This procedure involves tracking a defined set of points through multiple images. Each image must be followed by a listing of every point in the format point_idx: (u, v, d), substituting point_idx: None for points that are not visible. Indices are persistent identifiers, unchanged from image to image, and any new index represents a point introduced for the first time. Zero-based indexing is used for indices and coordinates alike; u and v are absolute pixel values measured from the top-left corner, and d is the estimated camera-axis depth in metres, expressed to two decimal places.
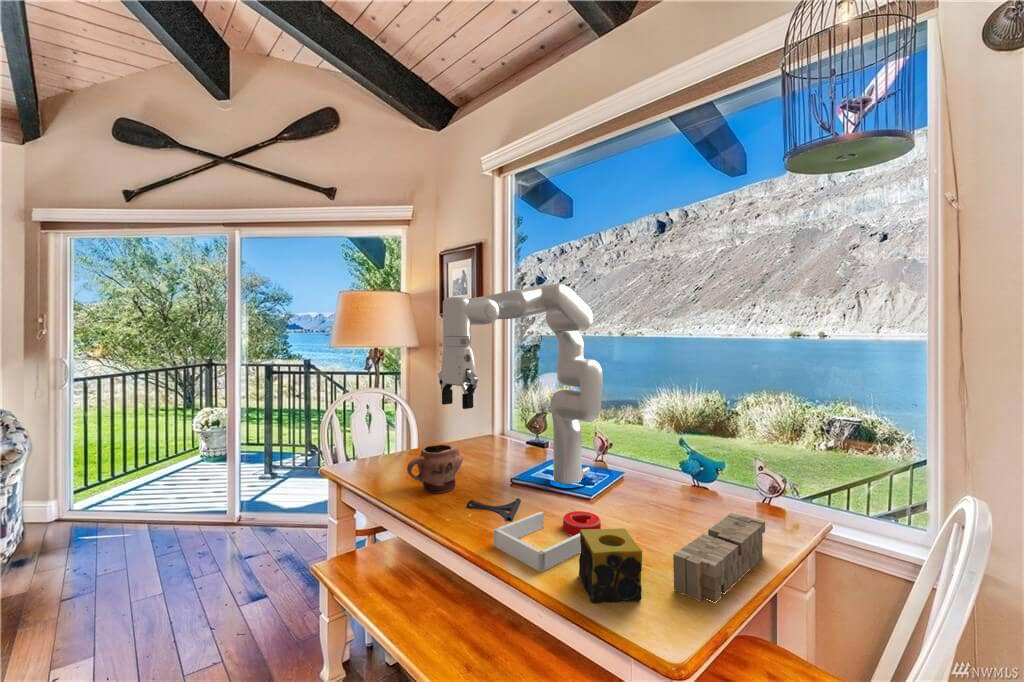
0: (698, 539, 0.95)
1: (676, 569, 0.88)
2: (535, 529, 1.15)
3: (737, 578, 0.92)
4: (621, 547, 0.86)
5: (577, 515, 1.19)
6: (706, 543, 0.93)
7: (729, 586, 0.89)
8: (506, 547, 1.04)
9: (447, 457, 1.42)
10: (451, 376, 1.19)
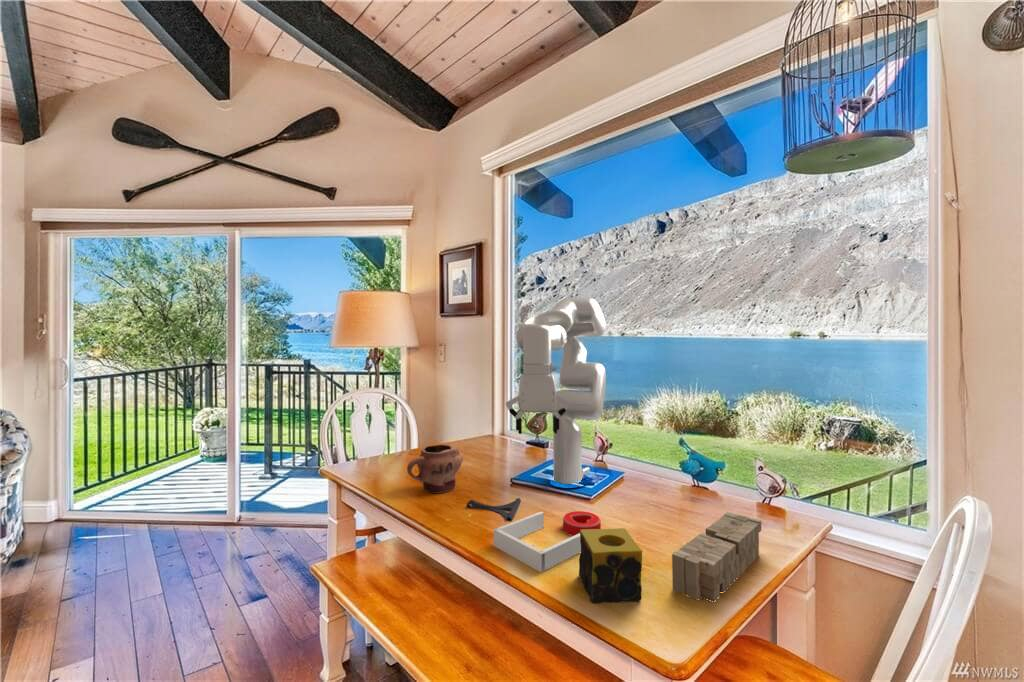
0: (696, 538, 0.95)
1: (674, 568, 0.88)
2: (535, 529, 1.15)
3: (735, 577, 0.92)
4: (621, 547, 0.86)
5: (576, 515, 1.19)
6: (704, 542, 0.93)
7: (727, 585, 0.89)
8: (506, 547, 1.04)
9: (447, 457, 1.42)
10: (541, 403, 1.20)
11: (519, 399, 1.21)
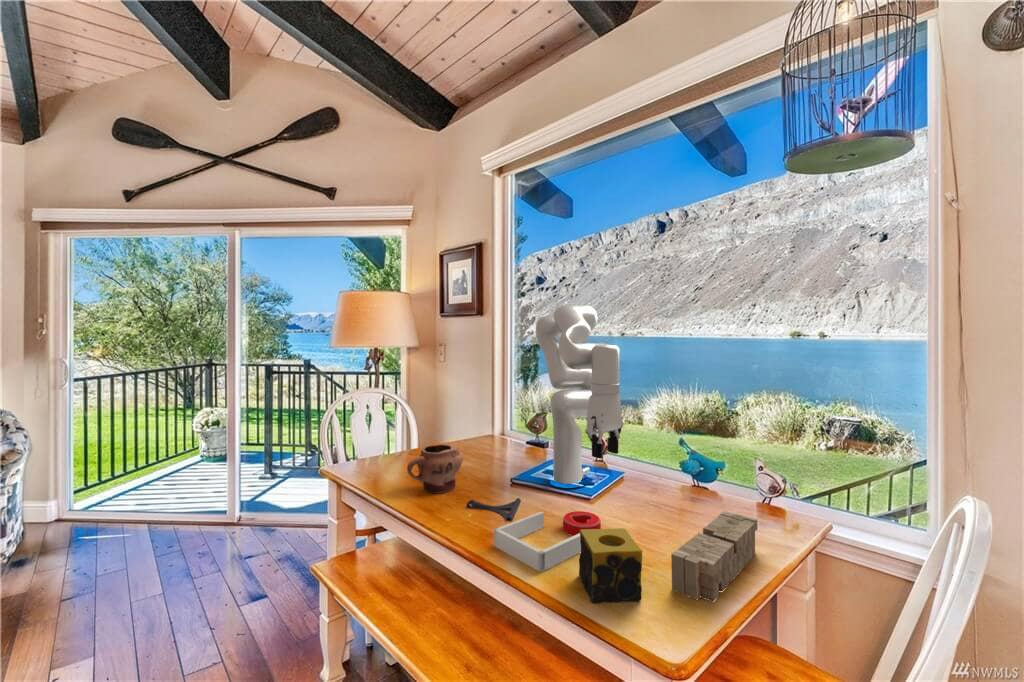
0: (694, 538, 0.95)
1: (674, 568, 0.88)
2: (535, 529, 1.15)
3: (733, 576, 0.93)
4: (621, 547, 0.86)
5: (577, 515, 1.19)
6: (702, 542, 0.94)
7: (726, 584, 0.89)
8: (506, 547, 1.04)
9: (447, 457, 1.42)
10: (613, 422, 1.22)
11: (597, 421, 1.19)
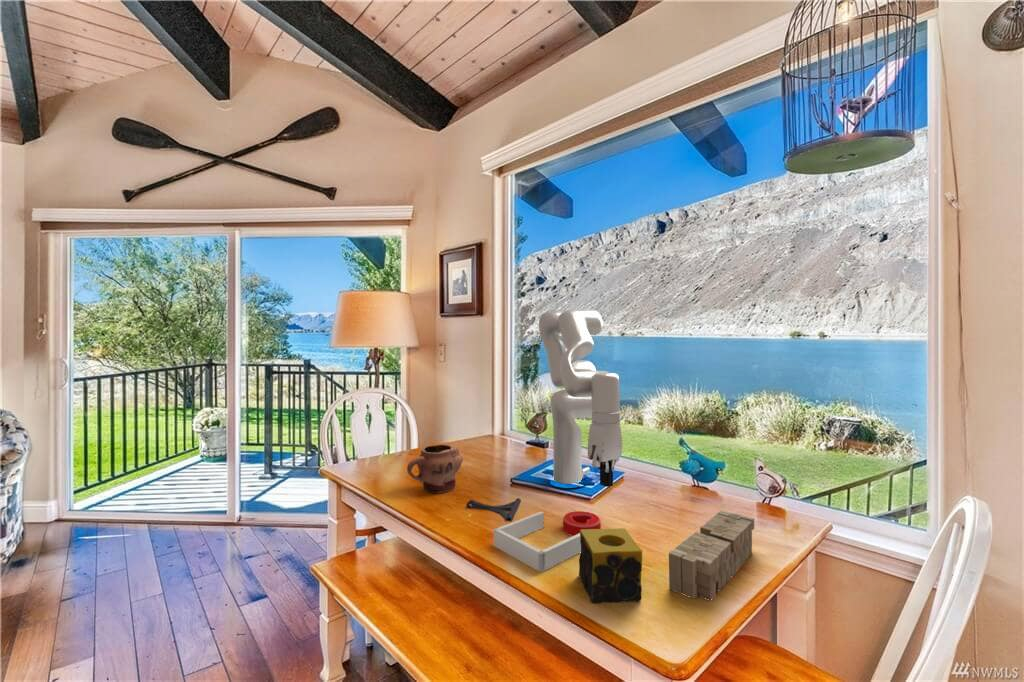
0: (691, 537, 0.96)
1: (671, 567, 0.89)
2: (535, 529, 1.15)
3: (730, 575, 0.93)
4: (621, 547, 0.86)
5: (576, 515, 1.19)
6: (700, 541, 0.94)
7: (723, 583, 0.90)
8: (506, 547, 1.04)
9: (447, 457, 1.42)
10: (614, 451, 1.21)
11: (598, 450, 1.18)
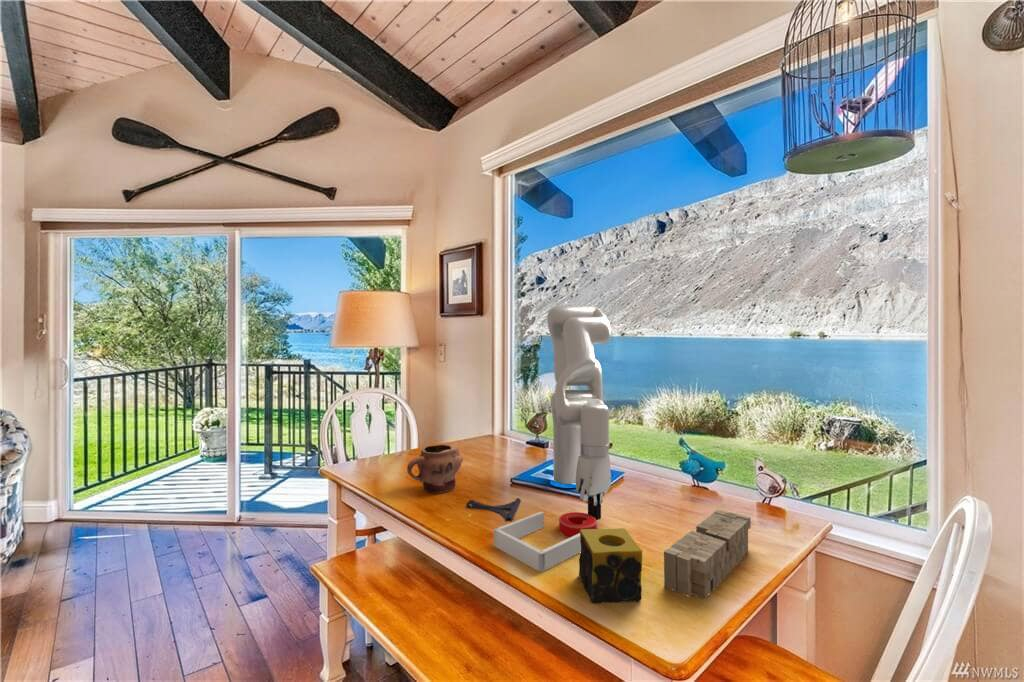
0: (687, 536, 0.97)
1: (666, 565, 0.90)
2: (535, 529, 1.15)
3: (725, 573, 0.94)
4: (621, 547, 0.86)
5: (573, 516, 1.18)
6: (695, 540, 0.95)
7: (718, 581, 0.91)
8: (506, 547, 1.04)
9: (447, 457, 1.42)
10: (603, 484, 1.19)
11: (586, 484, 1.16)
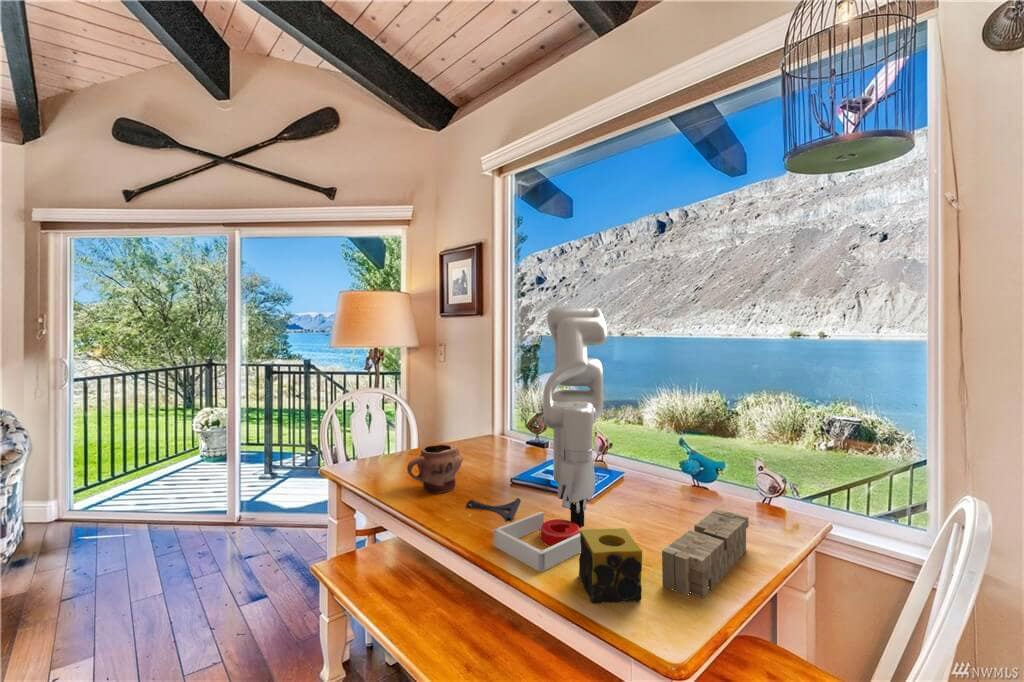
0: (685, 535, 0.97)
1: (664, 565, 0.90)
2: (535, 529, 1.15)
3: (723, 572, 0.94)
4: (621, 547, 0.86)
5: (555, 523, 1.13)
6: (693, 539, 0.95)
7: (716, 580, 0.91)
8: (506, 547, 1.04)
9: (447, 457, 1.42)
10: (586, 490, 1.14)
11: (568, 490, 1.11)
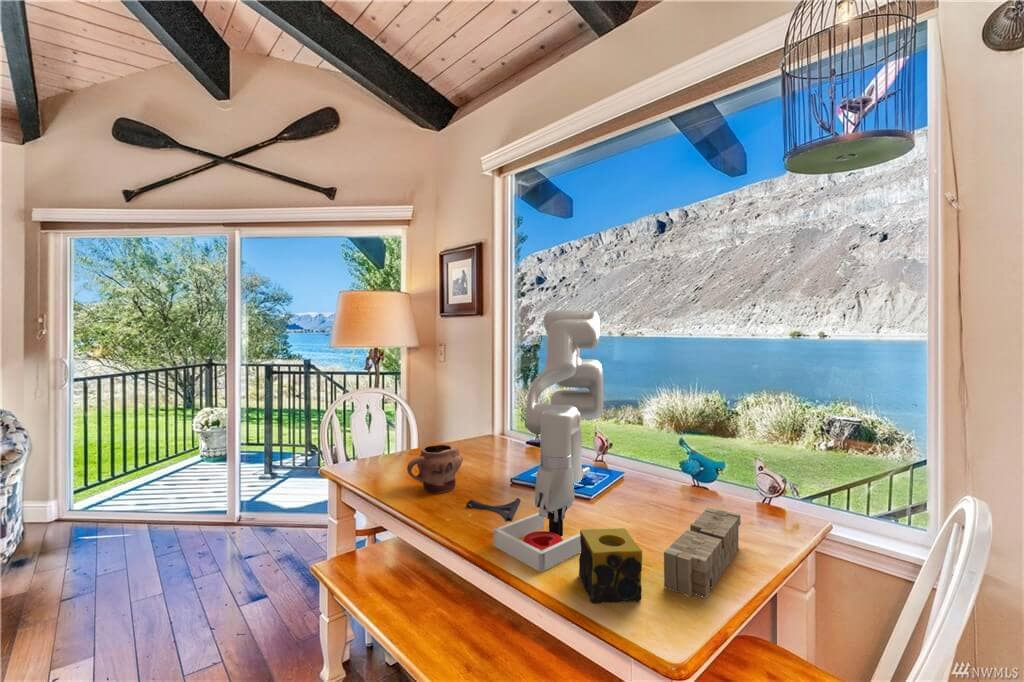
0: (683, 535, 0.97)
1: (666, 566, 0.89)
2: (535, 529, 1.15)
3: (721, 571, 0.94)
4: (621, 547, 0.86)
5: (536, 536, 1.07)
6: (692, 539, 0.95)
7: (715, 580, 0.91)
8: (506, 547, 1.04)
9: (447, 457, 1.42)
10: (564, 498, 1.09)
11: (545, 499, 1.06)
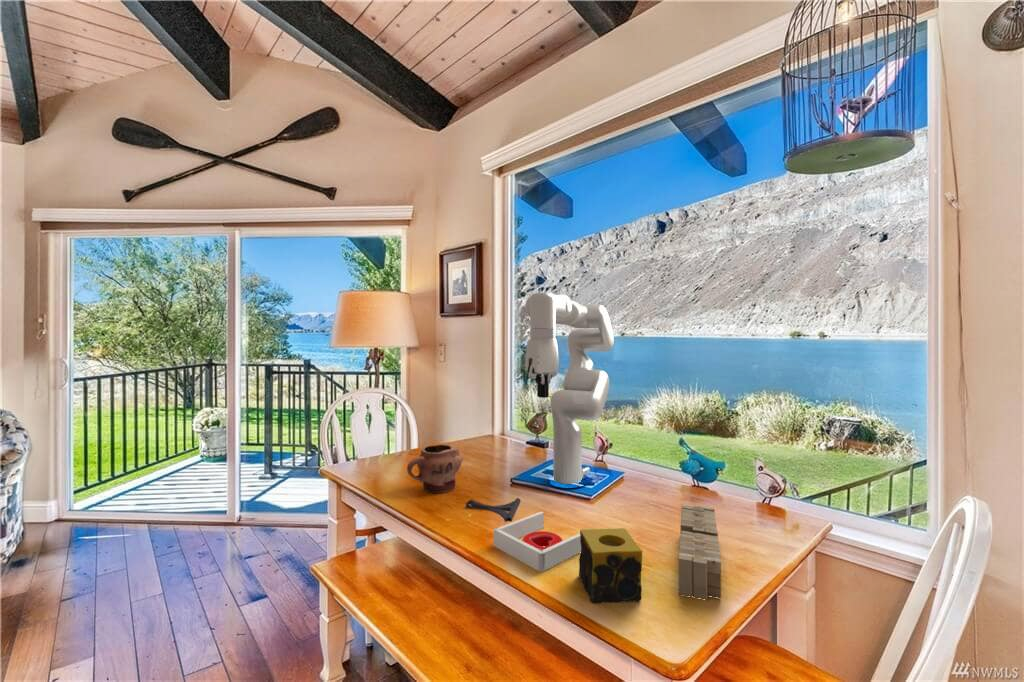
0: (683, 537, 0.96)
1: (681, 573, 0.87)
2: (535, 529, 1.15)
3: None
4: (621, 547, 0.86)
5: (536, 536, 1.07)
6: (693, 540, 0.95)
7: None
8: (506, 547, 1.04)
9: (447, 457, 1.42)
10: (550, 365, 1.31)
11: (533, 362, 1.28)
